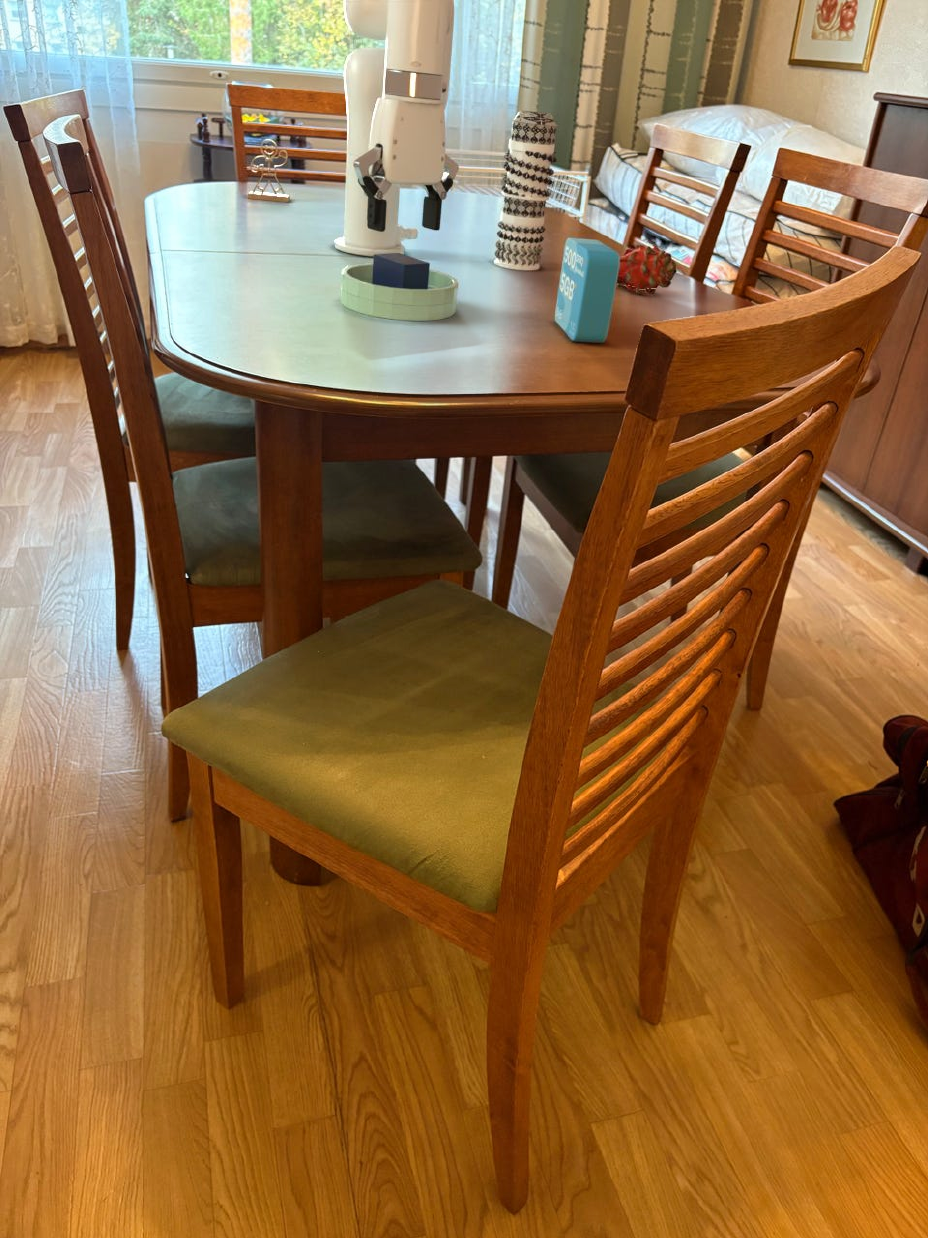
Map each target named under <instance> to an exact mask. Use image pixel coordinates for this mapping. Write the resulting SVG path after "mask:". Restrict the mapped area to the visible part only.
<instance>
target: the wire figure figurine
mask: <svg viewBox="0 0 928 1238" xmlns="http://www.w3.org/2000/svg"><path fill="white" fill-rule="evenodd" d="M268 141H269V142H271V143H273V144H274V146H273V145H270V146H269V145H267V144H265V145H264V143H265V142H268ZM263 148H264V149H265V150H263ZM259 149H260V152H261V154H262V155H257V156H255V157H254V158H253V159H252V160H251V162H250V166H249V169H250V171H251V172H252V173H254V174H256V173H259V171H260V168H261V176H260V177H259V179H258V182H257V183H256V185H255V187H254V189H253V191H252V190H251V191H249V192H248V193H247V199H249V200H260V201H271V202H280V203H289V202H290V201H291V196H290V195H289V194H285V191H284V189H283V187H282V185H281V183H280V182H279V179H278V177H277V168H280V167H283V166H284V165H285V164H286V162H287V161H288V157H289V154H288V152H287V151H286V150H285V149H281V150H280V151H279V152H278V145H277V143H276V142H275V141H274V140H273V139H270V138H267V139H264V140H263V141H262V142H261V143H260V148H259ZM267 149H270V150H271V151H272V152H267ZM274 150H275V151H274ZM282 152H283V153H285V155H286V156H285V155H283V154H281V153H282ZM277 154H278V155H277ZM276 155H277V156H276ZM259 158H264V161H265V163H266V162H267V166H268V169H267V172H268V173H267V172H264V164H263V163H261V164H259V165H256V164H254V161H255V160H257V159H259ZM279 158H281V159H283V160H284V162H283V163H282V164H279V165H274V173H271V171H272V170H271V164H272V163H273V162H274V159H275V160H276V159H279ZM253 168H255V169H257V170H254V169H253ZM264 176H266V177H274V179H275V180H276V182H277V184H278V186H279V187H278V188H277V189H275V188H274V186H273V184H272V182H271V180H270V179H268V181H267V182H266V184H265V186H264V187H262V186H260V185H259V184H260V182H261V180H262V179H263V177H264ZM268 185H269V186H270V187H271V190H272V191H273V192H272V193H271V192H265V190H266V189H267V187H268ZM256 189H259V190H260V191H256ZM280 191H281V192H282V194H281V193H278V192H280Z"/></svg>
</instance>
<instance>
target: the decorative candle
mask: <svg viewBox="0 0 928 1238" xmlns="http://www.w3.org/2000/svg"><path fill="white" fill-rule="evenodd" d="M511 121H512V126H511V132H510V133H511V135H510V138H509V141H508V149H509V150H508V151H506V152H505V153H504V155H503V157H504V159H505V160H506V161H505V162H504V163H503V164H502V168H503V169H504V170H505V171H506V173H505V174H503V176H502V181H503V182H504V183H503V184H502V186H501V188H500V189H501V195H502V196H503V201H502V202H503V203H502V210H501V211H500V221H499V222H498V223H497V226H498V228H499V229H500V230H498V231H496V235H497V237H498V240H497V241H496V242H495V244H494V245H495V247H496V250H495V251H494V256H495V259H494V260H493V264H494V265H496V266H497V267H501V268H506V269H510V270H516V271H537V270H539V269H540V267H541V266H540V264H539V263H540V262H541V260H542V256H541V253H542V251H543V250H544V248H543V246H542V245H541V242H543V241H544V240H545V237H544V236H543V235H542V234H543V233H545V231H546V228H545V227H544V226H545V220H546V219H545V218H546V216H545V212H546V207H547V206H546V204H547V201H549V199H550V196H551V195H550V194H551V193H550V191H548V186H551V185H552V184H553V183H554V182H553V180H552V178H550V177H551V176H553V175H554V173H555V171H554V170H553V168H552V167H551V164H552V165H553V164H555V163H556V162H557V158H556V156H554V155H555V154H556V153H557V151H555V146H556V145H555V139H556V130H557V127H558V124H556V122H555V119H554V117H553V115H552V114H550V113H546V112H541V111H532V110H520V111H518V112H517V114H516V116H515V117H514V118H513V119H511Z"/></svg>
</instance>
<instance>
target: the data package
mask: <svg viewBox="0 0 928 1238" xmlns="http://www.w3.org/2000/svg"><path fill="white" fill-rule="evenodd" d="M619 256H620V254H619V253H618V252H617V251H616V250H614V249H612V247H609V246H608V245H606V244H605V243H604V242H602V241H600V240H599V239H590V238H581V237H580V238H578V237H568V238H567V239H566V241H565V244H564V248H563V257H562V263H561V270H560V275H559V283H558V289H557V296H556V304H555V311H554V320H555V321H554V322H556V324H558V326H559V327H560V328H561V329H562V330H563V331H564V332H565V335H566V336H567V337H568V338H569V339H570V340H571V341H572V342H576V343H593V344H604V343H605V342H606V340H607V338H608V335H609V334H608V333H609V330H610V329H609V328H610V322H611V318H612V311H613V306H614V302H615V301H614V300H615V296H616V289H617V285H618V284H617V278H618V273H619V267H620V257H619Z"/></svg>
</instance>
